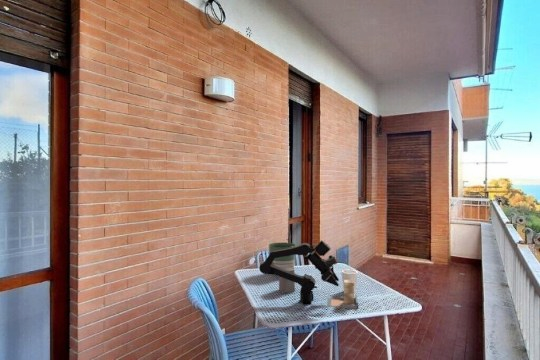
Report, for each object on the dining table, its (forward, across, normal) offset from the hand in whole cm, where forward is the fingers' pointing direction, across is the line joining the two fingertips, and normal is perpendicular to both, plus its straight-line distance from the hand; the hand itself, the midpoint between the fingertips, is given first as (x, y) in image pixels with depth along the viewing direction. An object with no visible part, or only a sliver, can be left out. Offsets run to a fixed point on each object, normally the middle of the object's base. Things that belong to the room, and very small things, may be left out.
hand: (338, 283), depth 173 cm
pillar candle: (-14, +17, +30) cm, 38 cm away
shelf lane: (+10, 0, +7) cm, 12 cm away
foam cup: (+13, +20, +4) cm, 24 cm away
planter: (-20, +52, +37) cm, 66 cm away
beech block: (+12, 0, +4) cm, 12 cm away
